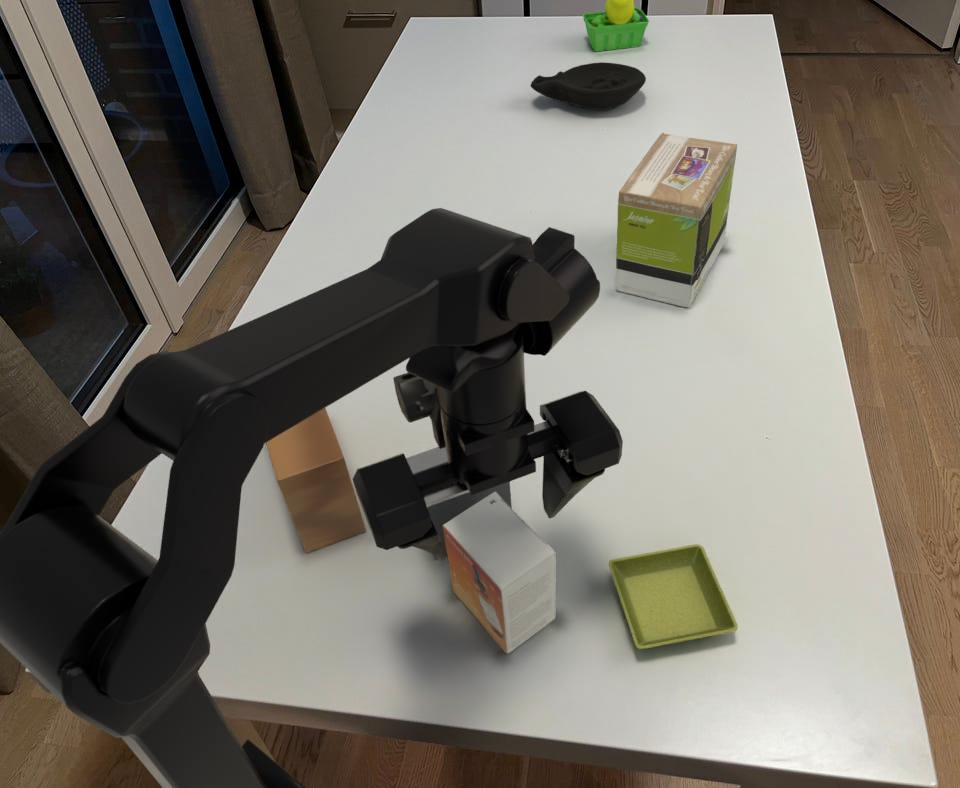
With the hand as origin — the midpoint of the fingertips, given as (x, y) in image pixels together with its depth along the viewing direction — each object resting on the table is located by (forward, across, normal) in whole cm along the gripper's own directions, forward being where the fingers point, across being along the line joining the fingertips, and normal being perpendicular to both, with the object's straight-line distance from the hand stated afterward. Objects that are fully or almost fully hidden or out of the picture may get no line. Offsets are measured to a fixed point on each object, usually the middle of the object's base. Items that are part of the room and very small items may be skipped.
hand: (495, 533), depth 62 cm
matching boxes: (+11, +12, -21) cm, 27 cm away
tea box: (+11, -39, -36) cm, 54 cm away
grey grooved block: (+11, 0, -9) cm, 14 cm away
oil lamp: (+11, -52, -84) cm, 100 cm away
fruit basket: (+11, -68, -103) cm, 124 cm away
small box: (+11, 0, 0) cm, 11 cm away
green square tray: (+11, -13, +6) cm, 18 cm away
